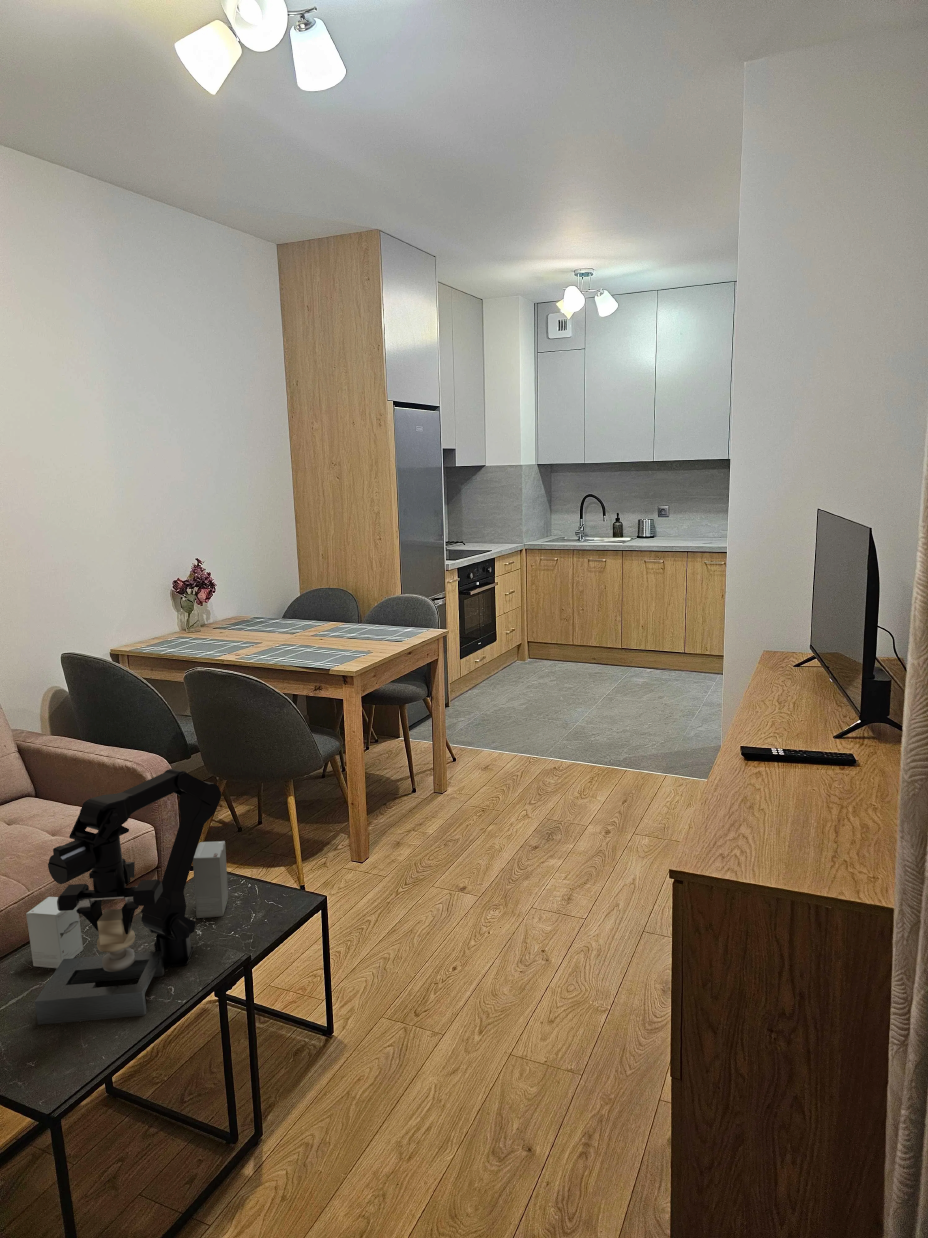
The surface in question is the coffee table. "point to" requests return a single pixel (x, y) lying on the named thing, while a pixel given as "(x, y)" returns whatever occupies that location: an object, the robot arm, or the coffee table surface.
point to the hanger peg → (115, 941)
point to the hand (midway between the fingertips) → (115, 934)
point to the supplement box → (53, 933)
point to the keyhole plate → (96, 990)
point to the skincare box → (210, 879)
